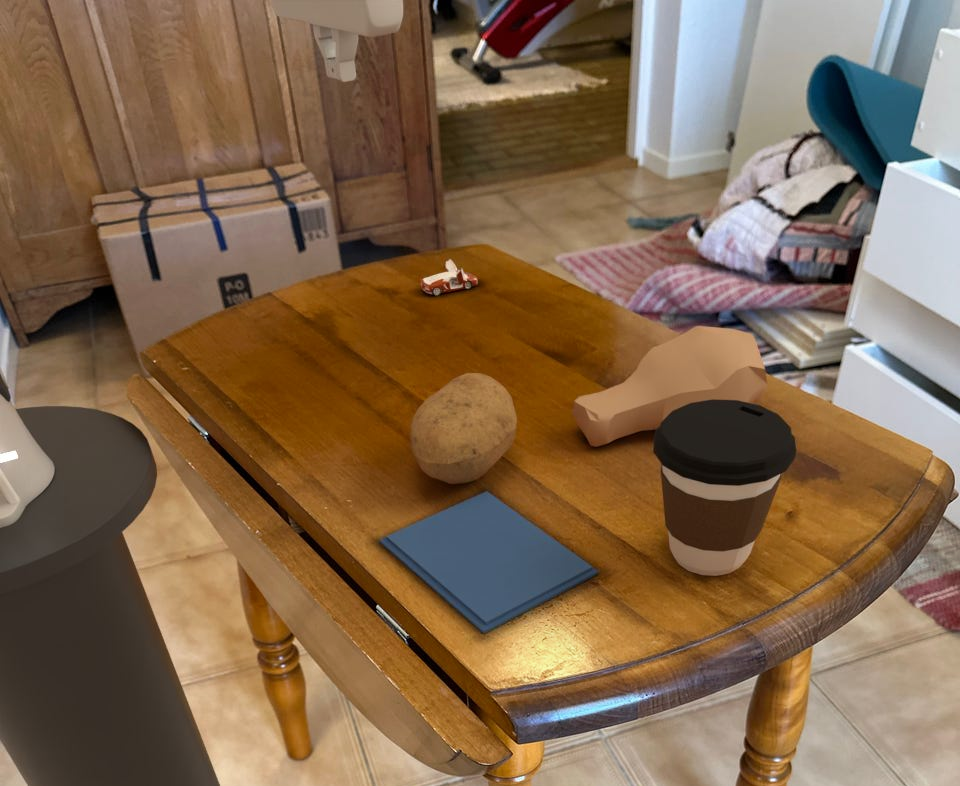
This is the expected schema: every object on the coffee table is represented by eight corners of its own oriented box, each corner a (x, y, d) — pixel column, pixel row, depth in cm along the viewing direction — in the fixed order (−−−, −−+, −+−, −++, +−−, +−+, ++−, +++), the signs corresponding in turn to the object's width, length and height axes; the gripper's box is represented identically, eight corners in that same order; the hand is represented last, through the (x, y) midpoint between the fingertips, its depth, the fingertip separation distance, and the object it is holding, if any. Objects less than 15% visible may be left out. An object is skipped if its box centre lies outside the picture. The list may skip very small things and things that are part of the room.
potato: (389, 500, 88) (379, 425, 83) (446, 428, 98) (439, 357, 93) (485, 517, 85) (480, 440, 80) (533, 441, 95) (532, 368, 90)
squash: (783, 426, 95) (796, 353, 88) (604, 490, 93) (602, 421, 86) (730, 366, 101) (739, 294, 94) (561, 425, 99) (557, 355, 92)
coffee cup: (691, 503, 85) (705, 382, 77) (799, 549, 79) (826, 423, 71) (618, 559, 80) (625, 435, 72) (728, 612, 74) (749, 484, 66)
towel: (483, 634, 74) (483, 628, 73) (379, 542, 83) (378, 537, 83) (598, 573, 78) (598, 568, 78) (486, 494, 88) (486, 488, 88)
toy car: (484, 289, 125) (482, 265, 123) (427, 300, 123) (425, 276, 121) (471, 276, 129) (470, 252, 127) (416, 286, 127) (414, 263, 125)
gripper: (236, -97, 88) (267, 70, 98) (342, -90, 76) (366, 101, 85) (295, -104, 91) (319, 60, 100) (407, -99, 78) (423, 88, 87)
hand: (341, 79), depth 92 cm, fingers closed
